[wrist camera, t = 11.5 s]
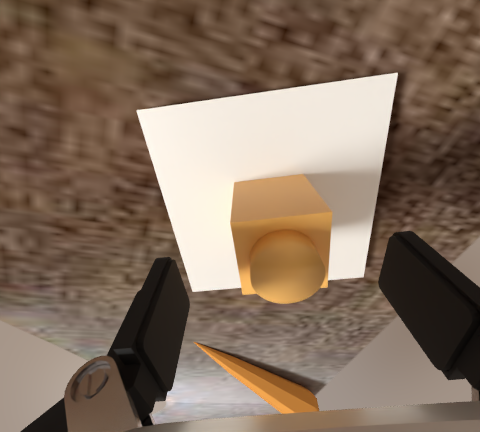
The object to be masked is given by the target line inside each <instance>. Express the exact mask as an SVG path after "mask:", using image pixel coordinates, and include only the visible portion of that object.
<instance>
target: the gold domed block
mask: <svg viewBox="0 0 480 432" xmlns="http://www.w3.org/2000/svg"><path fill="white" fill-rule="evenodd" d="M230 225H231V231H232V237H233V242H234V248H235V254H236V259H237V265H238V271H239V277H240V282H241V288H242V294H243V295H245V294H258V295H259V296H261V297H262V298H264V299H266V300H268V301H271V302H275V303H284V304H285V303H294V302H299V301H302V300H304V299H306V298H308V297H310V296H311V295H313V294H314V293H315V292H317V291H318V289H319V288H325V287H327V286H328V271H329V256H330V241H331V226H332V211H331V209H330V208H329V207H328V205H327V204H326V203H325V202H324V200H323V199H322V198H321V196H320V195H319V194H318V193H317V191H316V190H315V189H314V187H313V186H312V185H311V183H310V182H309V181H308V180H307V178H306V177H305V176H304V174H298V175H290V176H282V177H274V178H265V179H257V180H249V181H241V182H234V188H233V198H232V209H231V219H230Z"/></svg>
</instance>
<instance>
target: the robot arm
mask: <svg viewBox="0 0 480 432" xmlns="http://www.w3.org/2000/svg"><path fill="white" fill-rule="evenodd" d="M378 283H379V287H380V289H381V291H382V292H383V294H384V295H385V297H386V298H387V299H388V301H389V302H390V304H391V305H392V307H393V308H394V309H395V311H396V312H397V314H398V315H399V317H400V318H401V319H402V321H403V322H404V324H405V325H406V327H407V328H408V329H409V331H410V332H411V334H412V335H413V337H414V338H415V339H416V341H417V342H418V344H419V345H420V347H421V348H422V349H423V351H424V352H425V354H426V355H427V357H428V358H429V359H430V361H431V362H432V364H433V365H434V366H435V367H436V368H437V369H438V370H441V371H442V372H443V374H444V375H445V376H446V378H447V379H448V380H456V379H465V378H466V379H467V380H468V382H469V383H470V384H471V385H472V402H454V403H438V404H422V405H406V406H390V407H375V408H361V409H345V410H330V411H316V412H301V413H287V414H273V415H259V416H246V417H232V418H219V419H206V420H196V421H185V422H174V423H164V424H157V425H156V424H155V421H154V419H153V416H152V414H151V412H152V411H153V408H154V404H155V402H156V401H165V400H166V396H167V391H171V389H172V387H173V382H174V378H175V373H176V368H177V364H178V359H179V354H180V350H181V345H182V340H183V336H184V331H185V326H186V321H187V317H188V312H189V307H190V302H189V298H188V295H187V292H186V289H185V287H184V284H183V281H182V278H181V275H180V273H179V270H178V267H177V264H176V261H175V260H171V258H170V257H164V258H157V259H156V260H155V261H154V263H153V265H152V268H151V270H150V272H149V274H148V276H147V278H146V280H145V283H144V285H143V287H142V289H141V290H140V291H138V293H137V294H136V296H135V298H134V300H133V302H132V304H131V306H130V308H129V310H128V312H127V315H126V317H125V319H124V321H123V323H122V325H121V327H120V329H119V331H118V333H117V335H116V337H115V340H114V342H113V344H112V346H111V348H110V350H109V352H108V354H107V356H99V357H96V358H94V359H92V360H90V361H88V362H87V363H86V364H84V365H83V366H82V367H80V368H79V369H78V370H77V372H76V373H75V374H74V375H73V376H72V378H71V379H70V381H69V383H68V385H67V387H66V390H65V395H64V398H63V399H61V400H60V401H59V402H58V403H56V404H55V405H54V406H53V407H51V408H50V409H49V410H47V411H46V412H45V413H44V414H42V415H41V416H40V417H39V418H37V419H36V420H35V421H33V422H32V423H31V424H30V425H28V426H27V427H26V428H25V429H23V430H22V431H21V432H480V287H478V286H477V285H476V284H475V283H473V282H472V281H471V280H470V279H469V278H467V277H466V276H465V275H464V274H463V273H462V272H460V271H459V270H458V269H457V268H456V267H454V266H453V265H452V264H451V263H450V262H448V261H447V260H446V259H445V258H444V257H442V256H441V255H440V254H439V253H438V252H436V251H435V250H434V249H433V248H432V247H430V246H429V245H428V244H427V243H426V242H425V241H423V240H422V239H421V238H420V237H419V236H417V235H416V234H415V233H414V232H412V231H404V232H396V233H394V234H393V236H391V237H390V238H389V241H388V245H387V249H386V253H385V257H384V261H383V265H382V269H381V273H380V277H379V281H378Z"/></svg>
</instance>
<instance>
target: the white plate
mask: <svg viewBox="0 0 480 432" xmlns="http://www.w3.org/2000/svg"><path fill="white" fill-rule="evenodd" d="M397 76H398V73H392V74H385V75H378V76H371V77H364V78H357V79H350V80H344V81H337V82H330V83H323V84H316V85H309V86H302V87H295V88H288V89H281V90H274V91H267V92H261V93H254V94H247V95H240V96H233V97H226V98H219V99H212V100H205V101H198V102H191V103H185V104H178V105H171V106H164V107H157V108H150V109H143V110H136V111H137V114H138V117H139V120H140V124H141V127H142V130H143V133H144V136H145V140H146V143H147V146H148V149H149V153H150V156H151V159H152V162H153V165H154V169H155V172H156V175H157V178H158V182H159V185H160V188H161V191H162V194H163V198H164V201H165V204H166V207H167V211H168V214H169V217H170V220H171V223H172V227H173V230H174V233H175V236H176V239H177V243H178V246H179V249H180V252H181V256H182V259H183V262H184V265H185V268H186V272H187V275H188V278H189V281H190V285H191V288H192V291H193V292H197V291H208V290H220V289H231V288H241V282H240V277H239V271H238V265H237V259H236V254H235V248H234V242H233V237H232V231H231V225H230V219H231V209H232V198H233V188H234V182H241V181H249V180H257V179H265V178H274V177H282V176H290V175H298V174H304V176H305V177H306V178H307V180H308V181H309V182H310V183H311V185H312V186H313V187H314V189H315V190H316V191H317V193H318V194H319V195H320V196H321V198H322V199H323V200H324V202H325V203H326V204H327V205H328V207H329V208H330V209H331V211H332V226H331V241H330V256H329V271H328V280H335V279H347V278H358V277H364V271H365V265H366V259H367V253H368V247H369V241H370V235H371V229H372V224H373V218H374V212H375V206H376V200H377V194H378V188H379V182H380V176H381V170H382V164H383V158H384V153H385V147H386V141H387V135H388V129H389V123H390V117H391V111H392V105H393V99H394V93H395V88H396V82H397Z"/></svg>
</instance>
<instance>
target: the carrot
mask: <svg viewBox="0 0 480 432" xmlns="http://www.w3.org/2000/svg"><path fill="white" fill-rule="evenodd" d="M194 343H195V344H196V345H198V346H199V347H200V348H201V349H202V350H203V351H205V352H206V353H207V354H208V355H209V356H210V357H211V358H213V359H214V360H215V361H216V362H217V363H218V364H220V365H221V366H222V367H223V368H224V369H225V370H226V371H228V372H229V373H230V374H231V375H233V376H234V377H235V378H237V379H238V380H239V381H241V382H242V383H243V384H244V385H246V386H247V387H248V388H250V389H251V390H252V391H253V392H255V393H256V394H257V395H259V396H260V397H261V398H263V399H264V400H265V401H266V402H268V403H269V404H270V405H272V406H273V407H274V408H276V409H277V410H278V411H279V412H281V413H282V414H287V413H301V412H316V411H319V408H318V403H317V398H316V397H315V396H314V395H313V394H312V393H311V392H310V391H309V390H308V389H306V388H305V387H303V386H301V385H298V384H296V383H294V382H291V381H289V380H287V379H284V378H282V377H280V376H277V375H275V374H273V373H270V372H268V371H266V370H263V369H261V368H259V367H256V366H254V365H252V364H249V363H247V362H245V361H243V360H240V359H238V358H236V357H233V356H231V355H228V354H225V353H223V352H220V351H217V350H215V349H212V348H209V347H206V346H204V345H201V344H198V343H196V342H194Z"/></svg>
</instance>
